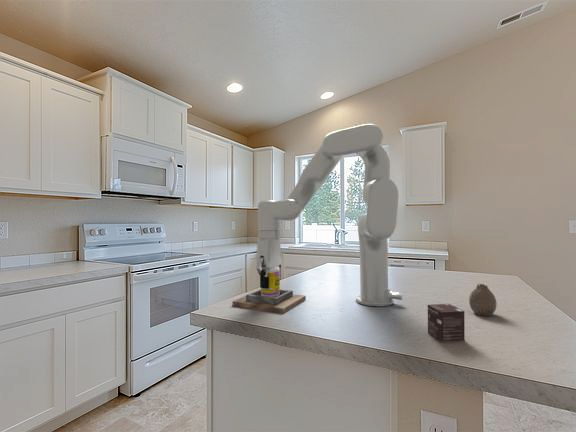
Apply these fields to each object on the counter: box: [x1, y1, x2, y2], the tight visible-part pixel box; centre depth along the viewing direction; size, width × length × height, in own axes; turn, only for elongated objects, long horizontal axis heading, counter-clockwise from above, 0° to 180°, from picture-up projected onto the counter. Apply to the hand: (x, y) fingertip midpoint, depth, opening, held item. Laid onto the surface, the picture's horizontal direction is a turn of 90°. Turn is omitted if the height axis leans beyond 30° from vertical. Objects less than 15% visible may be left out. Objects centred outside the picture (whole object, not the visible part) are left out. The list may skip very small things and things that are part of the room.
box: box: [427, 303, 466, 344], centre depth 74 cm, size 6×6×7 cm
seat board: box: [231, 288, 307, 314], centre depth 106 cm, size 20×17×4 cm
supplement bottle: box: [260, 261, 281, 298], centre depth 106 cm, size 7×7×13 cm
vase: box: [468, 283, 497, 317], centre depth 90 cm, size 7×7×9 cm
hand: (270, 285), depth 106 cm, fingers closed on supplement bottle, 6 cm apart
